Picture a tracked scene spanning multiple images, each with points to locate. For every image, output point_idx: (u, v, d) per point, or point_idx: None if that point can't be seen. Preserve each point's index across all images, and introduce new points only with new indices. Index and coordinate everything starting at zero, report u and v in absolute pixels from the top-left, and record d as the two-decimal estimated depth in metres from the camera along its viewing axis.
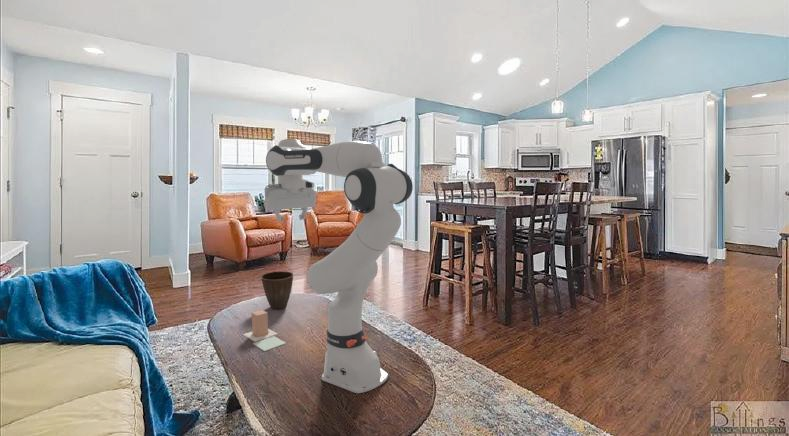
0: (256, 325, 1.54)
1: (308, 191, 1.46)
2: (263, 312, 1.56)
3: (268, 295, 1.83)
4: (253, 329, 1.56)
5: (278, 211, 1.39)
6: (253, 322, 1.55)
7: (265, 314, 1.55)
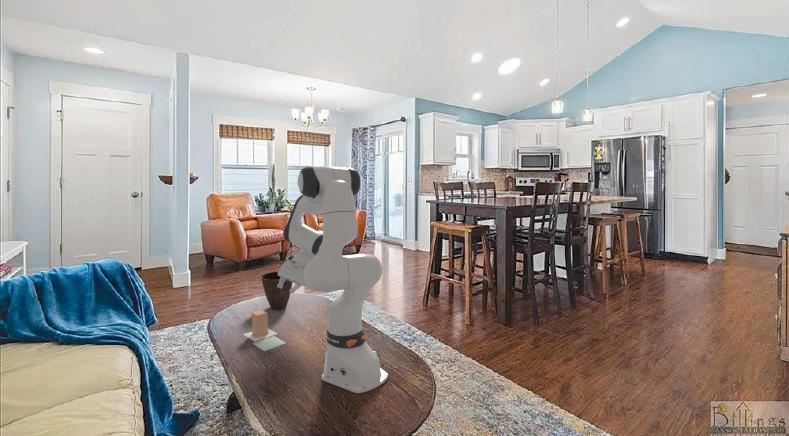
0: (256, 325, 1.54)
1: None
2: (263, 312, 1.56)
3: (268, 295, 1.83)
4: (253, 329, 1.56)
5: None
6: (253, 322, 1.55)
7: (265, 314, 1.55)
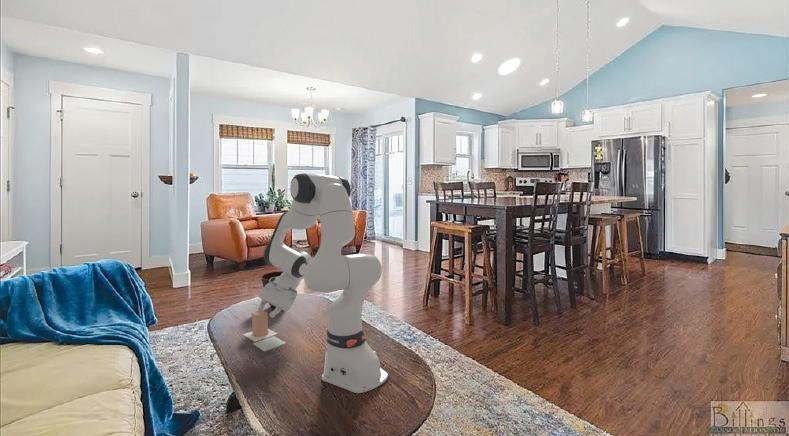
0: (256, 325, 1.54)
1: None
2: (263, 312, 1.56)
3: None
4: (253, 329, 1.56)
5: None
6: (253, 322, 1.55)
7: (265, 314, 1.55)
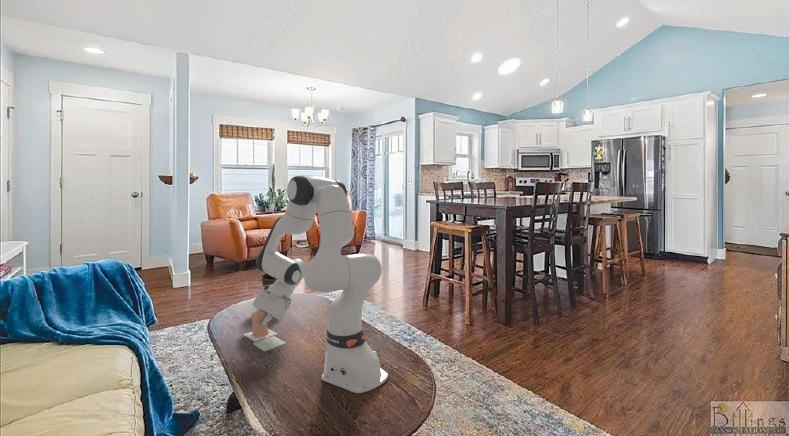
0: (256, 325, 1.54)
1: None
2: (263, 312, 1.56)
3: None
4: (253, 329, 1.56)
5: None
6: (253, 322, 1.55)
7: (265, 314, 1.55)
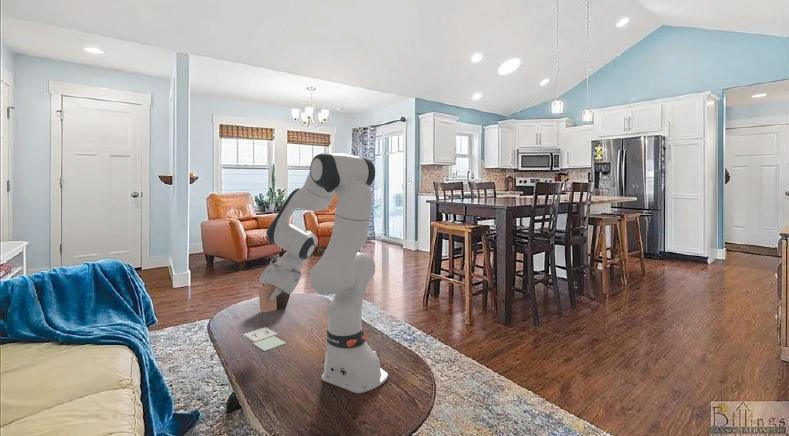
0: (264, 300, 1.43)
1: None
2: (271, 286, 1.45)
3: None
4: (260, 304, 1.45)
5: None
6: (260, 297, 1.45)
7: (273, 288, 1.45)
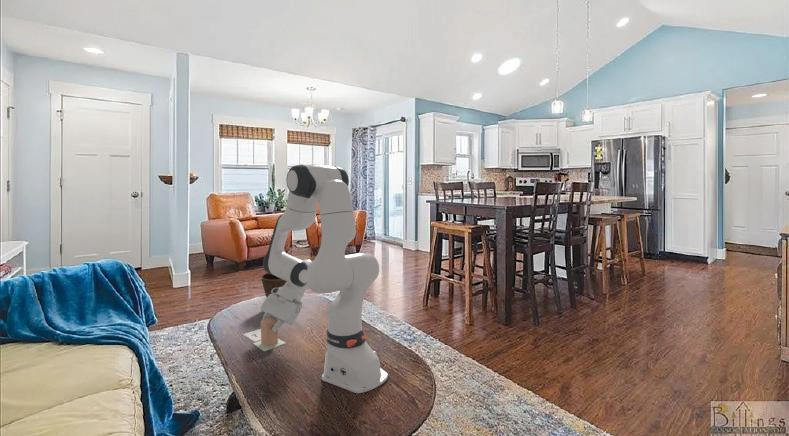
0: (265, 334, 1.44)
1: None
2: (273, 320, 1.47)
3: (268, 295, 1.83)
4: (262, 338, 1.47)
5: None
6: (262, 331, 1.46)
7: (275, 322, 1.46)
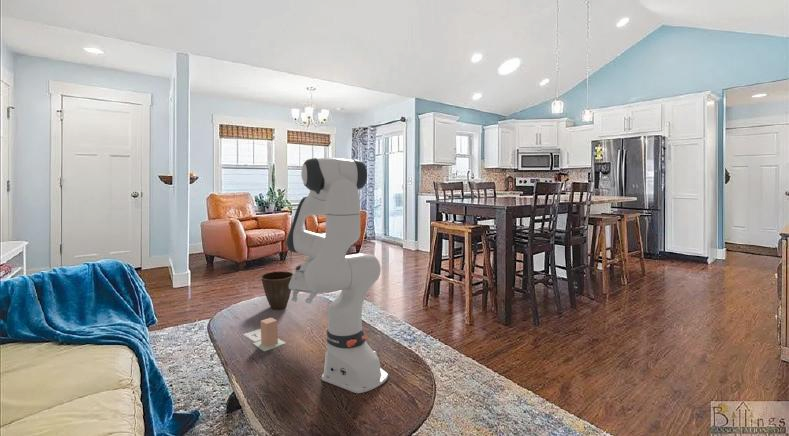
0: (265, 334, 1.45)
1: None
2: (273, 320, 1.47)
3: (268, 295, 1.83)
4: (262, 338, 1.47)
5: None
6: (262, 331, 1.46)
7: (275, 322, 1.46)
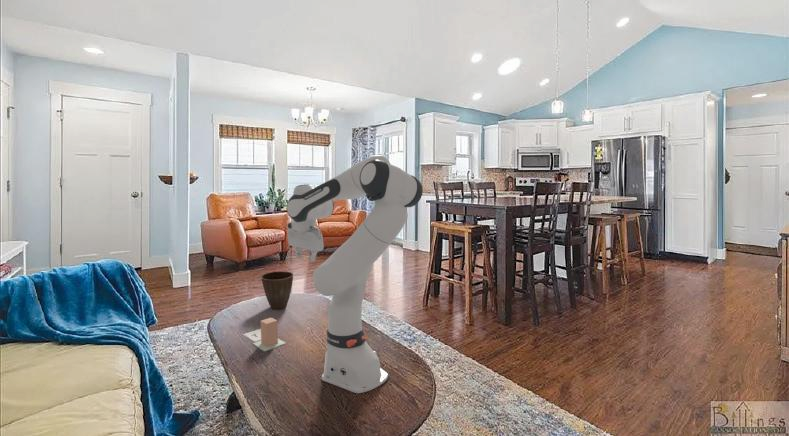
0: (265, 334, 1.45)
1: None
2: (273, 320, 1.47)
3: (268, 295, 1.83)
4: (262, 338, 1.47)
5: None
6: (262, 331, 1.46)
7: (275, 322, 1.46)
